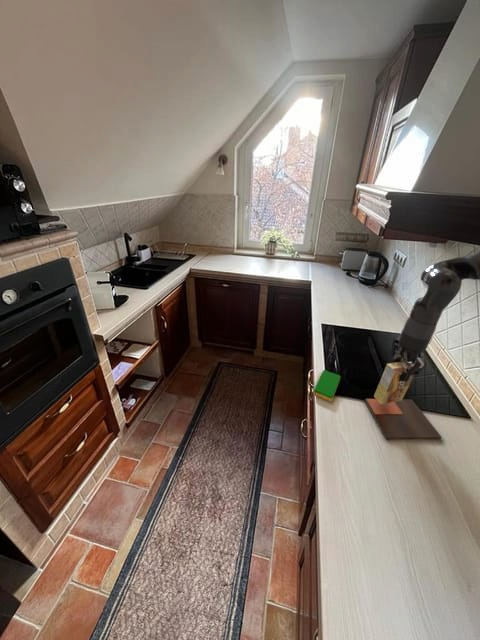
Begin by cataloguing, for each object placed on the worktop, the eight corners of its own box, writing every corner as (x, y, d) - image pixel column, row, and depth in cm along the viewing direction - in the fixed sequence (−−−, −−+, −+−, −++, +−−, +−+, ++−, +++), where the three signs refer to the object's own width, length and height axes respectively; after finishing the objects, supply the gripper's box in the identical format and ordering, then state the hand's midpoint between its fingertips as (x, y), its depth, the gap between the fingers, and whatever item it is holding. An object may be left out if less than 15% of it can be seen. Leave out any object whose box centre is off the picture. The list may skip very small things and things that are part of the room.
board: (410, 401, 96) (412, 398, 95) (440, 439, 82) (442, 437, 81) (364, 400, 95) (364, 398, 95) (386, 439, 81) (387, 437, 81)
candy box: (393, 392, 93) (408, 359, 85) (402, 401, 89) (418, 367, 82) (373, 396, 91) (386, 363, 83) (381, 405, 87) (396, 371, 80)
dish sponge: (339, 380, 105) (341, 375, 103) (331, 402, 94) (332, 397, 93) (322, 373, 108) (323, 369, 107) (312, 394, 97) (313, 390, 96)
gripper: (447, 345, 70) (423, 390, 78) (414, 320, 82) (397, 361, 91) (420, 345, 69) (399, 390, 78) (392, 319, 82) (376, 361, 90)
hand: (398, 374), depth 84 cm, fingers closed on candy box, 4 cm apart
